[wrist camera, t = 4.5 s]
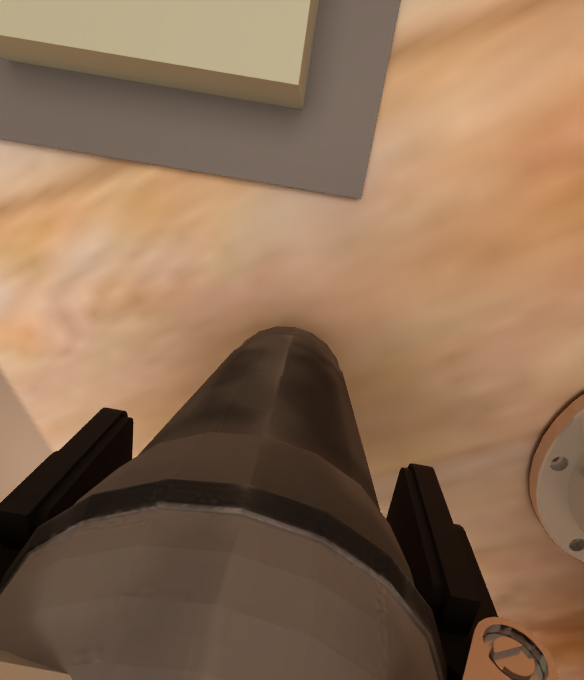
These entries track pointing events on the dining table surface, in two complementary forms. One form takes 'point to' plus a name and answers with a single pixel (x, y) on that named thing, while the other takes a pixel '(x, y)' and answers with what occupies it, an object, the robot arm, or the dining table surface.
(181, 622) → the beverage cup
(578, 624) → the dining table surface
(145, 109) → the plinth
